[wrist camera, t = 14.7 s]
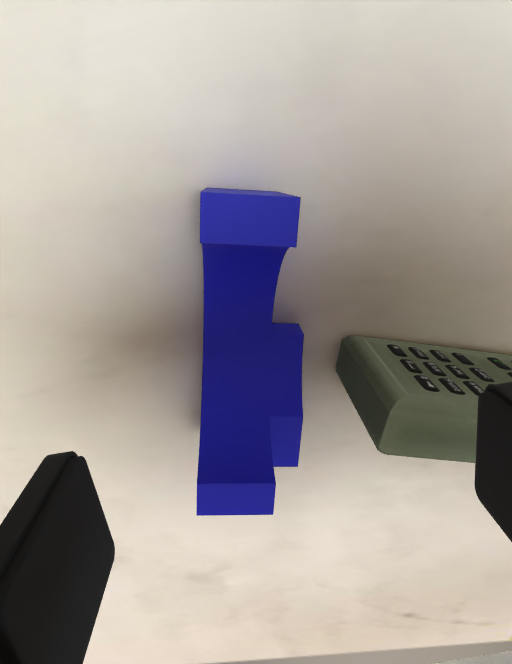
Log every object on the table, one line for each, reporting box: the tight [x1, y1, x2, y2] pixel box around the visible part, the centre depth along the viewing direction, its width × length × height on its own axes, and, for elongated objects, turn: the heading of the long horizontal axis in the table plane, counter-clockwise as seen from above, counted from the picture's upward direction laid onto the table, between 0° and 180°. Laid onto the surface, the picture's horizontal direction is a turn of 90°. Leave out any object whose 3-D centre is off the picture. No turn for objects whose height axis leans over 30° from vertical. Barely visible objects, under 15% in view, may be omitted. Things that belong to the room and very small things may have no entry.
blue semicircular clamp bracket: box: [197, 188, 304, 515], centre depth 18 cm, size 12×4×6 cm, turn 177°
